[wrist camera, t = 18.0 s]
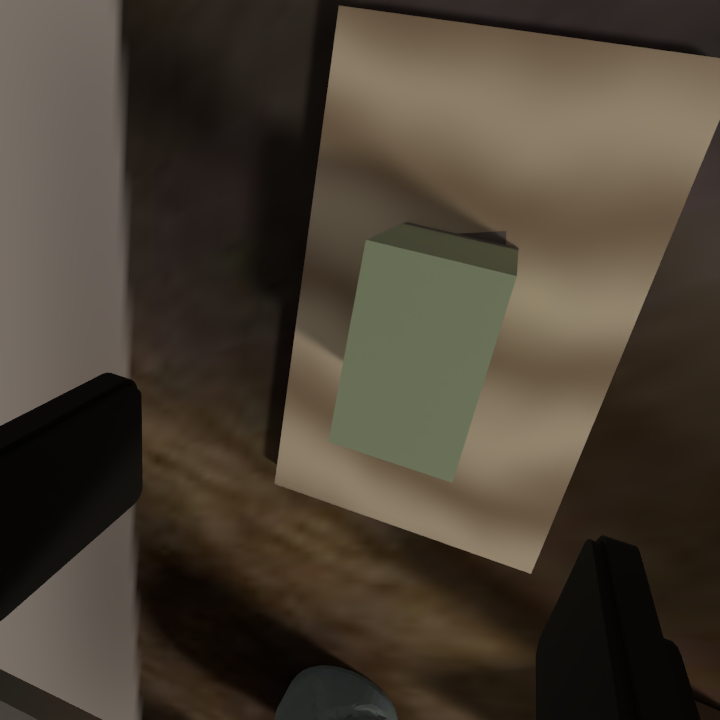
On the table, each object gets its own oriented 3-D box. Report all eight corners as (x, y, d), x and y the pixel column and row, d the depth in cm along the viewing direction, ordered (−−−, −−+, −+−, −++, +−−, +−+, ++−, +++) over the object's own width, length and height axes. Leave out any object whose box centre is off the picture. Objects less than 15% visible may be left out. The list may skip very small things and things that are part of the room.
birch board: (350, 15, 22) (338, 5, 21) (728, 69, 19) (743, 61, 18) (285, 470, 31) (274, 483, 30) (530, 554, 28) (531, 574, 27)
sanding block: (406, 221, 23) (366, 239, 17) (518, 247, 22) (516, 276, 16) (372, 380, 26) (328, 441, 20) (469, 409, 25) (452, 482, 19)
